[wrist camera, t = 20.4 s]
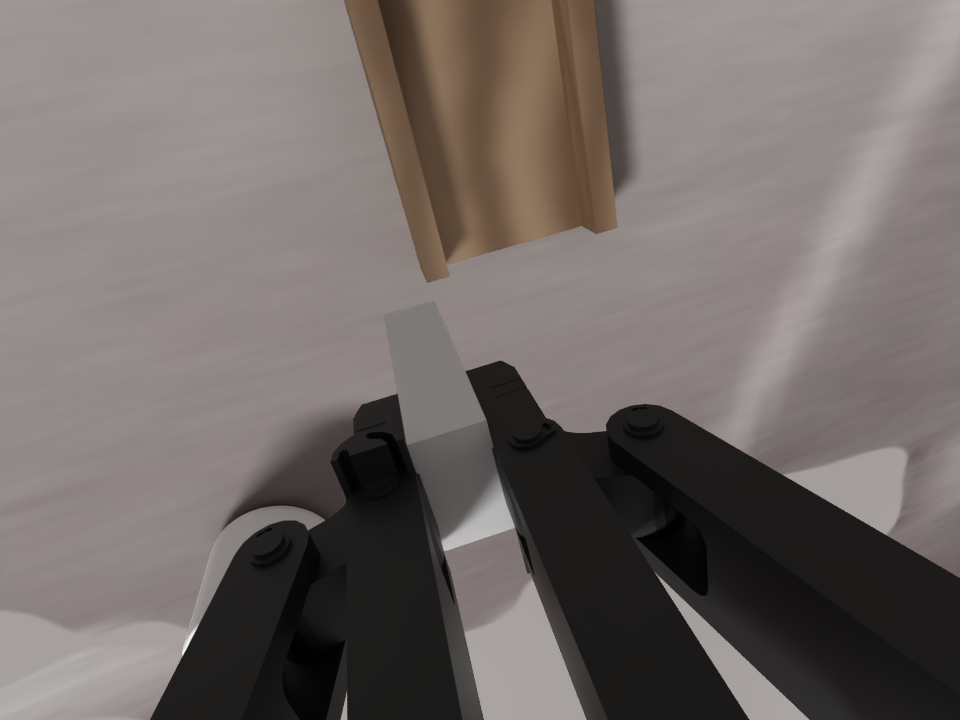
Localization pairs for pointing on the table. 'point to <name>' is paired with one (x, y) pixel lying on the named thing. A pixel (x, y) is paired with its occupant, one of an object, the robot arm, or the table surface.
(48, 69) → the table surface
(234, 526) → the cup
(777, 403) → the table surface
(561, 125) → the channel
